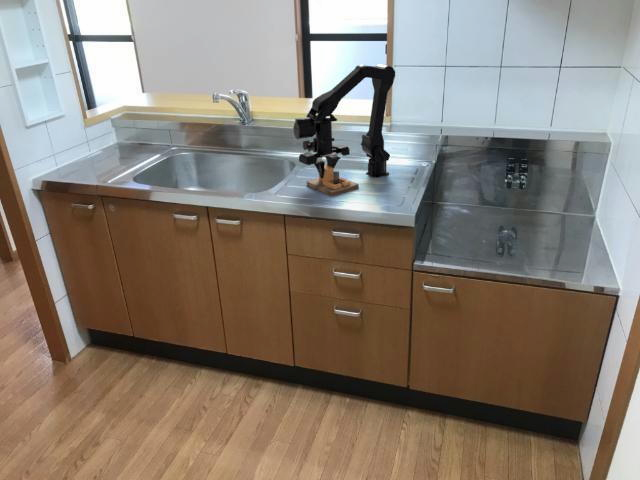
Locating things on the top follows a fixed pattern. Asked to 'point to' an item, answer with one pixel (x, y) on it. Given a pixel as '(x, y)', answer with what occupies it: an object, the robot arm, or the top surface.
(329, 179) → the ring link
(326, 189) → the post stand
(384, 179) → the top surface
